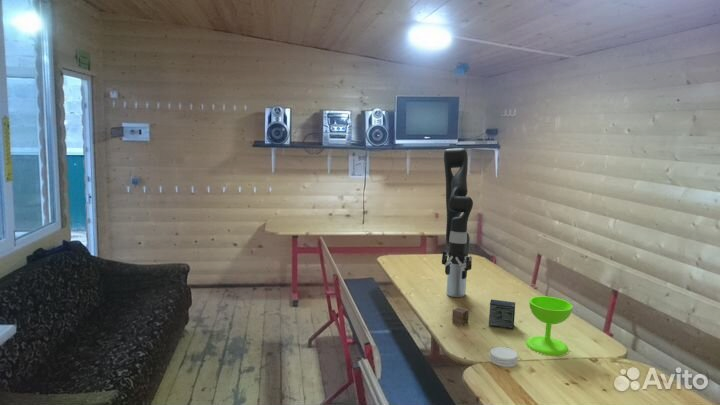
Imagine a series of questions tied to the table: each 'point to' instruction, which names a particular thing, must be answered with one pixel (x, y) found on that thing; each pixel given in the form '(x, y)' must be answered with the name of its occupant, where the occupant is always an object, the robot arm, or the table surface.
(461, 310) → the walnut block
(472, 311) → the table surface
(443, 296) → the table surface
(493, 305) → the small box
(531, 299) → the wineglass
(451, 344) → the table surface
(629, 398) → the table surface
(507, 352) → the white short cylinder
